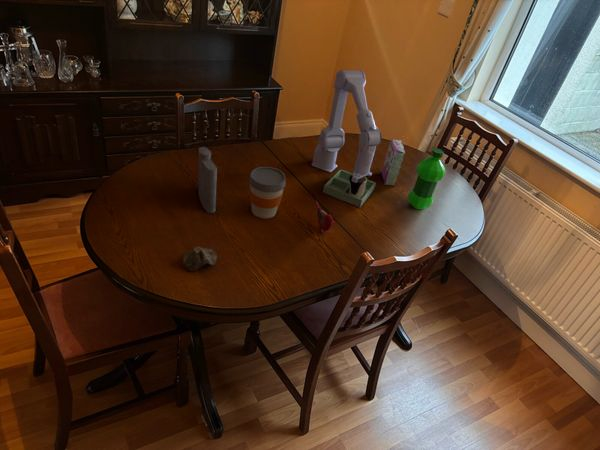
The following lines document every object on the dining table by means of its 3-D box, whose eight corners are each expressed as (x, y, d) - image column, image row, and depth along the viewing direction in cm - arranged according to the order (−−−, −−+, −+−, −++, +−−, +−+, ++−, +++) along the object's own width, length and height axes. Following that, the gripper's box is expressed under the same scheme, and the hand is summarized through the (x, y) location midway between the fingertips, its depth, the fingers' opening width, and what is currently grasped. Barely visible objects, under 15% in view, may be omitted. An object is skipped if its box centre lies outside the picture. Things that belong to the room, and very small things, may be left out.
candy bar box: (380, 171, 198) (390, 138, 189) (391, 173, 199) (402, 140, 189) (383, 184, 189) (394, 150, 180) (395, 186, 190) (406, 152, 180)
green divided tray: (322, 192, 178) (324, 185, 175) (338, 176, 190) (340, 169, 188) (360, 207, 173) (362, 200, 171) (373, 189, 185) (376, 182, 183)
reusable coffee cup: (276, 224, 156) (281, 189, 147) (241, 216, 157) (245, 180, 148) (284, 205, 166) (289, 171, 157) (252, 198, 167) (255, 163, 158)
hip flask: (216, 212, 157) (218, 163, 145) (204, 214, 155) (205, 164, 143) (206, 188, 168) (207, 140, 156) (195, 189, 166) (195, 140, 154)
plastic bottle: (402, 206, 178) (421, 151, 163) (409, 195, 186) (428, 141, 171) (426, 216, 175) (448, 160, 160) (432, 204, 183) (454, 150, 168)
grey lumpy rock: (214, 246, 139) (182, 252, 137) (213, 239, 132) (179, 246, 130) (219, 269, 136) (186, 276, 134) (218, 263, 130) (184, 271, 128)
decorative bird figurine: (323, 244, 151) (328, 220, 146) (309, 213, 165) (313, 190, 159) (331, 243, 152) (337, 220, 146) (316, 213, 166) (321, 190, 160)
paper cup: (346, 195, 175) (350, 178, 170) (351, 189, 179) (355, 172, 174) (359, 201, 173) (364, 183, 168) (364, 194, 178) (369, 177, 173)
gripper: (367, 171, 160) (359, 202, 168) (380, 156, 171) (372, 186, 179) (349, 164, 162) (342, 195, 170) (363, 150, 173) (356, 180, 181)
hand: (356, 190), depth 175 cm, fingers closed on paper cup, 6 cm apart
